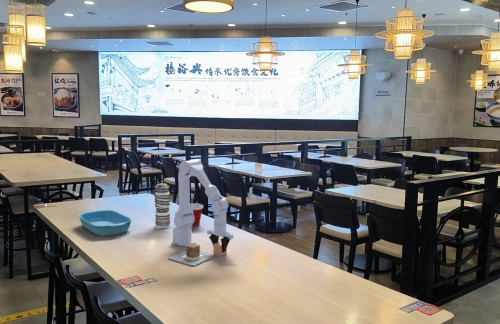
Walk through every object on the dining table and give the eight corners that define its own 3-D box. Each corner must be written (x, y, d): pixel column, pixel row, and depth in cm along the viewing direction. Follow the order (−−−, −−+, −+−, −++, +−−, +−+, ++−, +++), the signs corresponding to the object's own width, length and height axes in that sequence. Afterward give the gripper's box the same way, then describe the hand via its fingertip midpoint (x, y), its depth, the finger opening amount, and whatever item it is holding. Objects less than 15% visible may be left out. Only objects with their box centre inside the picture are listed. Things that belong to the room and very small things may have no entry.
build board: (167, 259, 196) (167, 257, 196) (191, 249, 209) (191, 248, 209) (193, 266, 187) (193, 265, 187) (216, 256, 201) (216, 254, 200)
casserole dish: (138, 232, 237) (137, 220, 236) (98, 240, 222) (98, 227, 221) (110, 219, 264) (110, 207, 263) (73, 225, 249) (73, 213, 248)
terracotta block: (213, 254, 204) (213, 244, 203) (219, 251, 208) (219, 241, 207) (220, 256, 201) (220, 245, 201) (226, 253, 205) (226, 243, 204)
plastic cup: (186, 228, 245) (186, 208, 243) (184, 223, 255) (184, 204, 254) (205, 227, 248) (205, 207, 246) (202, 222, 258) (202, 203, 257)
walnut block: (186, 255, 199) (186, 245, 198) (193, 253, 202) (193, 243, 201) (192, 258, 196) (192, 247, 195) (199, 255, 199) (199, 245, 198)
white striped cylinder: (155, 228, 244) (154, 185, 240) (154, 224, 253) (153, 183, 249) (171, 227, 246) (170, 185, 243) (170, 223, 255) (169, 182, 252)
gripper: (237, 224, 202) (237, 251, 204) (213, 219, 210) (213, 245, 212) (228, 227, 196) (228, 255, 198) (204, 222, 204) (204, 249, 206)
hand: (220, 250), depth 204 cm, fingers closed on terracotta block, 4 cm apart
